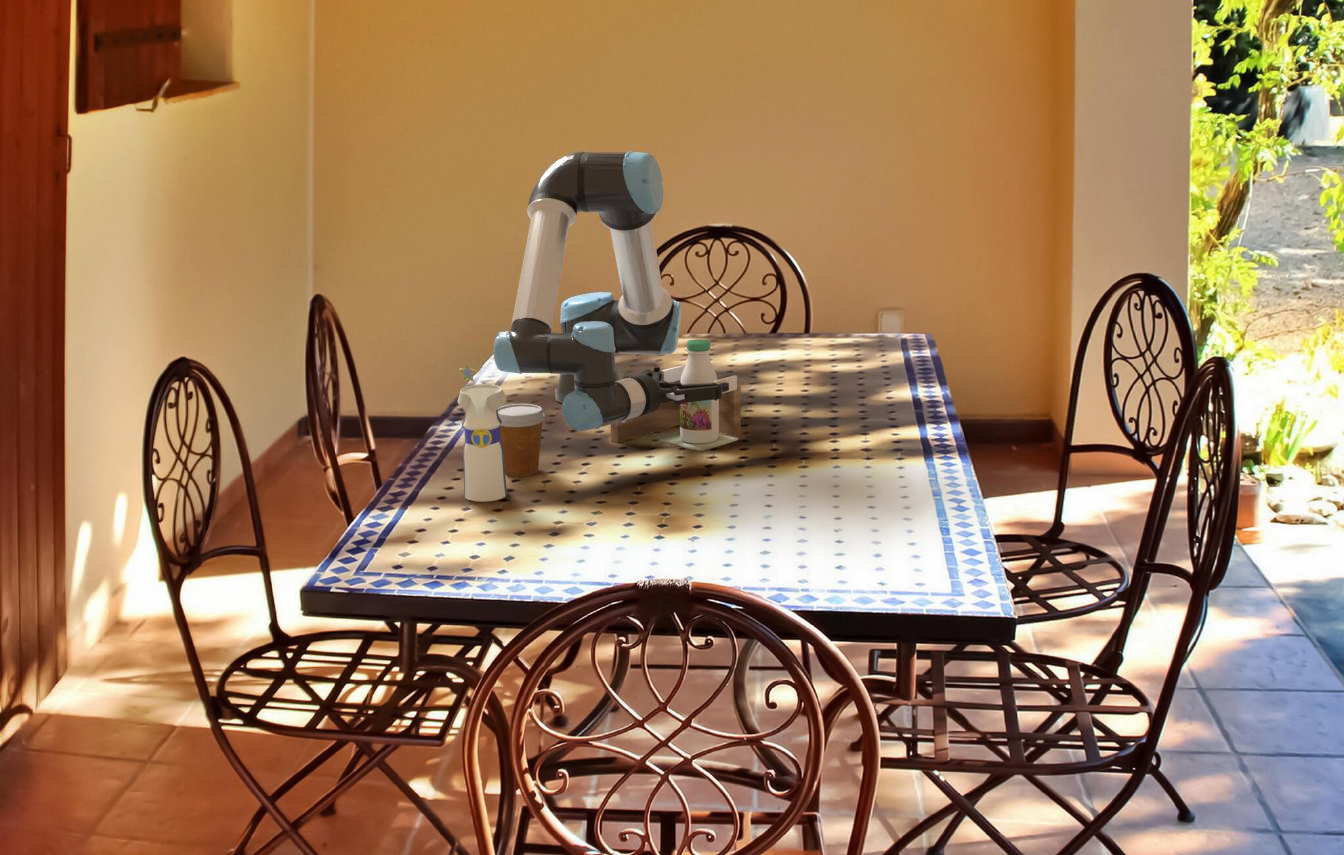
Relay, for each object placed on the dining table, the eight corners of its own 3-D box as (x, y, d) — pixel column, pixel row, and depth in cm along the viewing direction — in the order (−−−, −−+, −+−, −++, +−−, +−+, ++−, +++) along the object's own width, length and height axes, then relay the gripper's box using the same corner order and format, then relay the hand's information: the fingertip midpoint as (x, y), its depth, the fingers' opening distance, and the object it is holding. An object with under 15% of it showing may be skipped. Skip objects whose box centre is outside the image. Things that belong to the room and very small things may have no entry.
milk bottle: (694, 432, 292) (693, 335, 287) (726, 437, 288) (725, 339, 282) (672, 440, 286) (671, 342, 281) (704, 446, 282) (704, 346, 276)
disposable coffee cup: (496, 464, 273) (493, 403, 270) (546, 463, 274) (544, 402, 271) (494, 480, 264) (491, 417, 261) (546, 478, 265) (544, 415, 262)
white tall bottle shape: (510, 501, 253) (503, 362, 246) (461, 503, 252) (453, 364, 245) (511, 486, 260) (505, 352, 254) (464, 488, 260) (456, 353, 253)
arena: (610, 441, 288) (609, 392, 285) (683, 419, 302) (682, 373, 299) (677, 459, 275) (676, 408, 272) (749, 436, 290) (749, 388, 287)
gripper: (589, 405, 281) (665, 385, 295) (681, 428, 264) (757, 405, 279) (588, 367, 279) (665, 349, 293) (681, 388, 262) (757, 368, 277)
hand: (710, 376), depth 286 cm, fingers open, 13 cm apart
